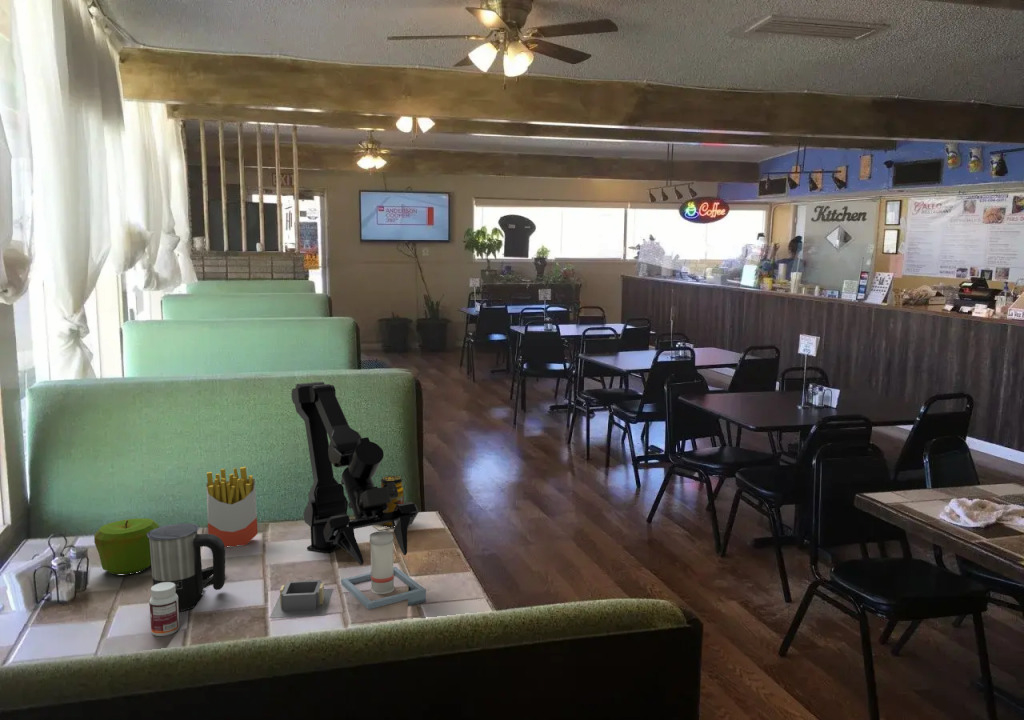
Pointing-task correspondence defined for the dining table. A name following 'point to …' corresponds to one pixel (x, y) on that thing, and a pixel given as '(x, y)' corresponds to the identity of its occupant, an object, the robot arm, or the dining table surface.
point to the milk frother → (186, 561)
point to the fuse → (382, 562)
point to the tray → (413, 595)
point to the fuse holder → (302, 599)
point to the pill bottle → (164, 609)
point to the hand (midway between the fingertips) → (384, 559)
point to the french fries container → (232, 507)
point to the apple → (125, 545)
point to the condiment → (394, 501)
